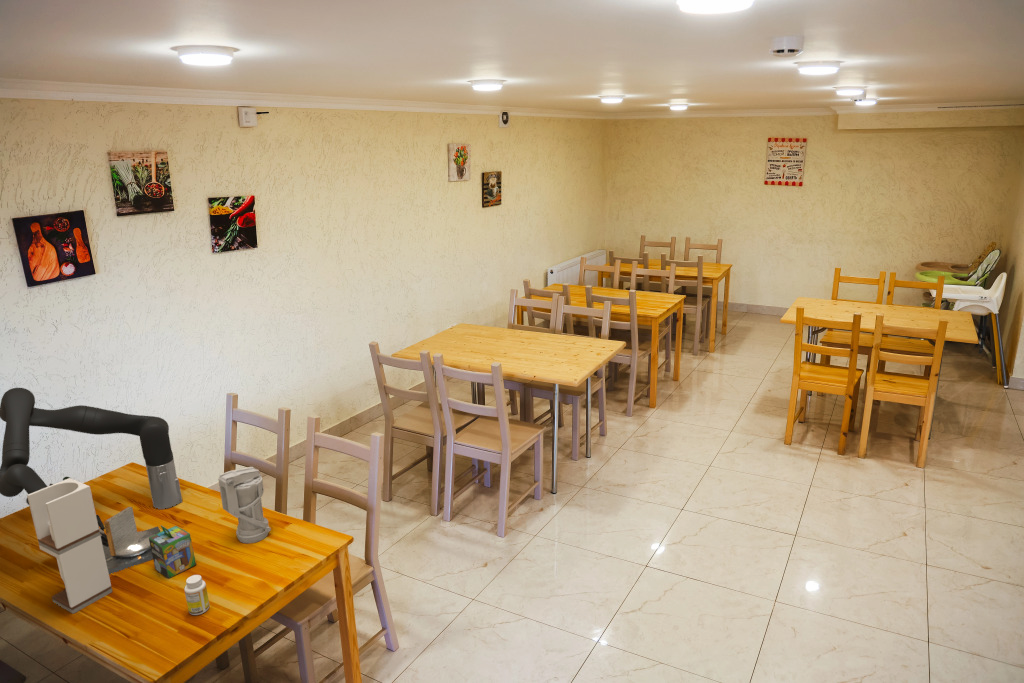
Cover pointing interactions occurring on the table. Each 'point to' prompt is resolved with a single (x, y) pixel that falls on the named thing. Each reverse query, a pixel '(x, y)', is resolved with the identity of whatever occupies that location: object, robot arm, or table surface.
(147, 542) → the dial
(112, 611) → the table surface
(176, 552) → the chalk box
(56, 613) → the table surface
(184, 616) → the table surface
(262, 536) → the gray strapped canister
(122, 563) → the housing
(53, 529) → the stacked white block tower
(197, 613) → the supplement bottle
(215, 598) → the table surface
